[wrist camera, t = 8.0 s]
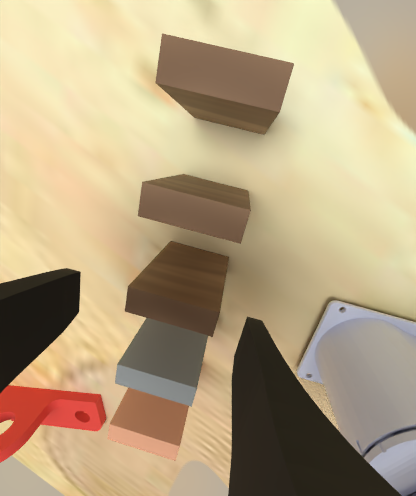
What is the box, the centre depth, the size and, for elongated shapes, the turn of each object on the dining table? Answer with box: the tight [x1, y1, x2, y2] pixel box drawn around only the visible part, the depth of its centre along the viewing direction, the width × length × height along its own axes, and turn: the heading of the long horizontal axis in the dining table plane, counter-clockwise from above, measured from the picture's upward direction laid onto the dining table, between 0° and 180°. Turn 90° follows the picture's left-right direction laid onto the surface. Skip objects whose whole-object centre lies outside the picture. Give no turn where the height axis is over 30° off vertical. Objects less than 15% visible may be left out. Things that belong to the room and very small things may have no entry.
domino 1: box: [138, 174, 251, 244], centre depth 15 cm, size 2×5×8 cm, turn 77°
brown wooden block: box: [156, 34, 294, 134], centre depth 13 cm, size 2×5×8 cm, turn 77°
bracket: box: [0, 385, 106, 462], centre depth 26 cm, size 12×4×8 cm, turn 92°
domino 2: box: [125, 241, 229, 337], centre depth 17 cm, size 2×5×8 cm, turn 77°
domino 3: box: [108, 388, 189, 461], centre depth 21 cm, size 2×5×8 cm, turn 76°
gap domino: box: [115, 318, 208, 407], centre depth 19 cm, size 2×5×8 cm, turn 77°
